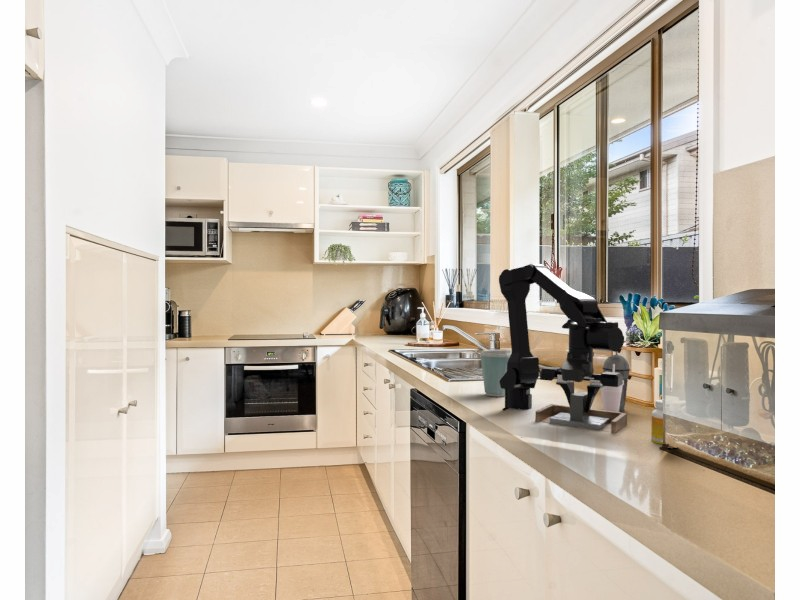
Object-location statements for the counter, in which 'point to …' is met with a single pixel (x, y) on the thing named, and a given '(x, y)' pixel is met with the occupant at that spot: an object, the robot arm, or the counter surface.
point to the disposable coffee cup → (494, 370)
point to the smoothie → (611, 397)
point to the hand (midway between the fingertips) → (579, 411)
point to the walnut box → (615, 417)
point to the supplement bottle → (657, 423)
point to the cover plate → (582, 424)
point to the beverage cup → (620, 367)
